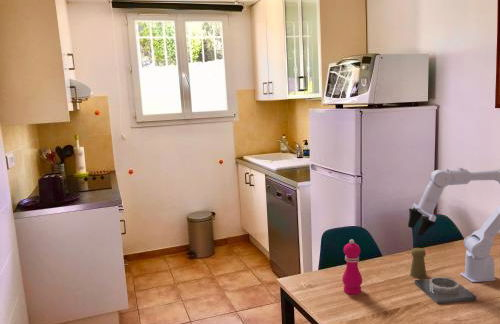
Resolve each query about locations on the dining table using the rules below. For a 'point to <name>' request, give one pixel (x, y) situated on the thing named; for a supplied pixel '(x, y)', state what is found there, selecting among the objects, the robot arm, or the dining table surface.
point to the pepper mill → (352, 269)
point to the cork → (418, 263)
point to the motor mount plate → (445, 297)
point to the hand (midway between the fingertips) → (414, 231)
